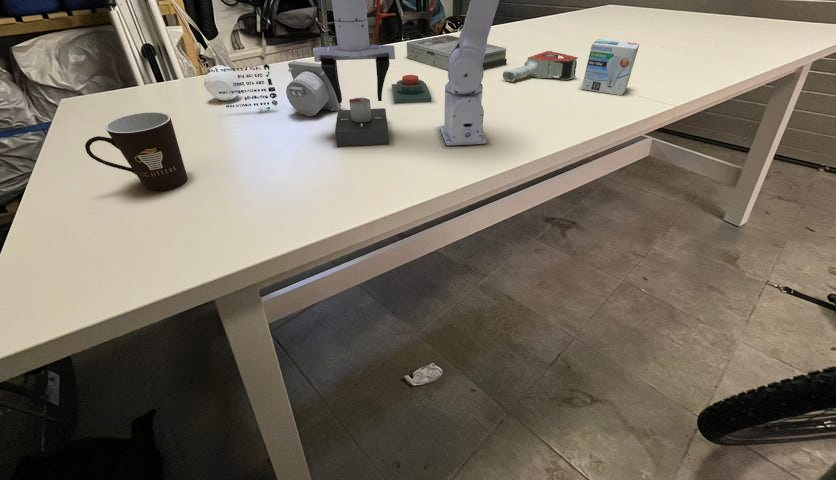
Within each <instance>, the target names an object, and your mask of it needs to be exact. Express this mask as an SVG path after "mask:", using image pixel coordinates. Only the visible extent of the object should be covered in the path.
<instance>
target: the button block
mask: <svg viewBox="0 0 836 480" xmlns="http://www.w3.org/2000/svg"><path fill="white" fill-rule="evenodd" d="M391 92H392V98H393V102H394V103H393V104H395V105H396V104H399V105H401V104H422V103H424V104H425V103H432V102H433V101H432V100H433V99H432V95H431V92H430V89H429V88H428V85H427V83H426V82H425V81H424V80H421V79H419V84H418V85H413V86H408V85H403V83H402V79H400V80H397V81H396V83H391Z"/></svg>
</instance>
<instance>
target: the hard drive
mask: <svg viewBox="0 0 836 480" xmlns="http://www.w3.org/2000/svg"><path fill="white" fill-rule="evenodd" d="M458 40H459V36H454V35H449V34H447V35H440V36H435V37H428V38H422V39H416V40H412V41H407V42H406V58H407V59H409V60H412V61H416V62H419V63H422V64H426V65H429V66H432V67H436V68H439V69H443V70H445V71H448V70H449V69H448V57H449V55H450V53H451V51H452V50H453V49H454V48H455V46H456V45H457V43H458ZM506 56H507V48H506V47H502V46H498V45H494V44H489V43H487V46H486V52H485V56H484V59H483V71H486V70H490V69H495V68H499V67H503V66H506V65H507V61H508V59H507V58H506Z"/></svg>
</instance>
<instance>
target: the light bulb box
mask: <svg viewBox="0 0 836 480" xmlns="http://www.w3.org/2000/svg"><path fill="white" fill-rule="evenodd" d="M639 47H640V42H628V41H619V40H609V39H608V40H607V39H598V38H597V39H596V40H595V41H594V42H592V44H591V45H590V50H589V54H588V58H587V64H586V68H585V72H584V76H583V80H582V85H581V87H580V89H581V90H585V91H592V92H597V93H605V94H612V95H618V96H623V95H624V93H625V92H626V90H627V88H628V85H629V81H630V78H631V74H632V71H633V67H634V65H635V61H636V58H637V54H638V52H639Z"/></svg>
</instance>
